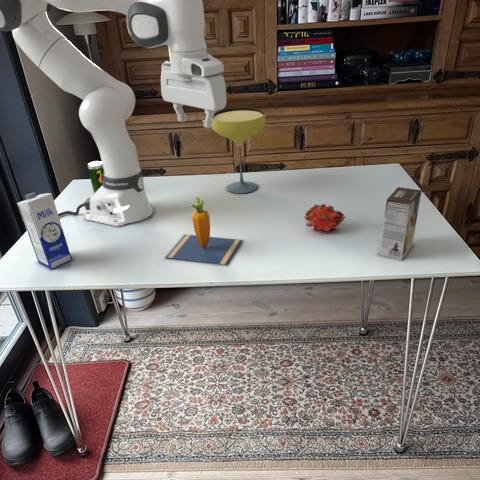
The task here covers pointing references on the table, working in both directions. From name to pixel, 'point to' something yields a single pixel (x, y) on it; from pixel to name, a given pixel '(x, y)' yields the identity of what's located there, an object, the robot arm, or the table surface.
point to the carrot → (201, 223)
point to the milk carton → (45, 229)
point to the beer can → (96, 174)
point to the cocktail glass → (239, 135)
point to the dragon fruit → (323, 218)
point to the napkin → (204, 250)
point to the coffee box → (400, 222)
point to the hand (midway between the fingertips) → (195, 124)
